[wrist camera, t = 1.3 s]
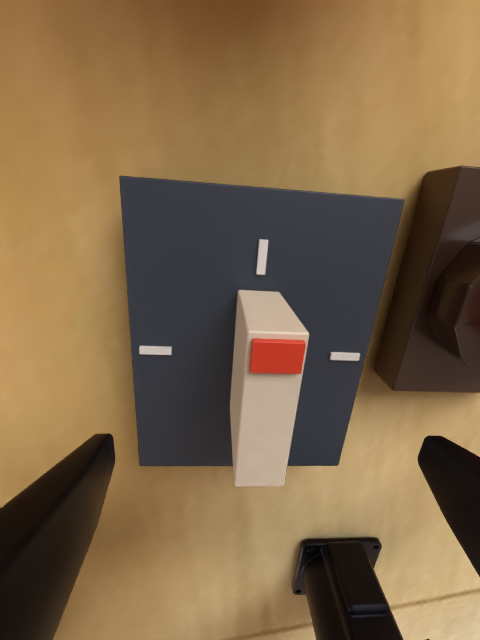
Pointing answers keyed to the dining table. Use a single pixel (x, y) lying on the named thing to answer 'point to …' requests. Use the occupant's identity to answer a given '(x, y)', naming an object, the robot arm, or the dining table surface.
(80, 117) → the dining table surface
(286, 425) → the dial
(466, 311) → the button block
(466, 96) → the dining table surface
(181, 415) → the control panel
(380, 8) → the dining table surface
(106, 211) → the dining table surface
